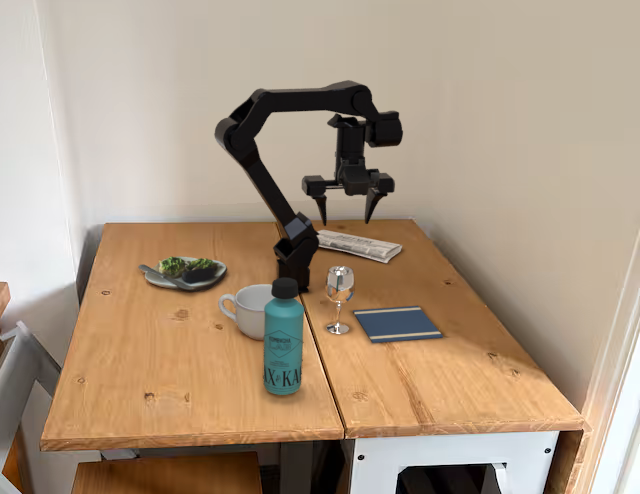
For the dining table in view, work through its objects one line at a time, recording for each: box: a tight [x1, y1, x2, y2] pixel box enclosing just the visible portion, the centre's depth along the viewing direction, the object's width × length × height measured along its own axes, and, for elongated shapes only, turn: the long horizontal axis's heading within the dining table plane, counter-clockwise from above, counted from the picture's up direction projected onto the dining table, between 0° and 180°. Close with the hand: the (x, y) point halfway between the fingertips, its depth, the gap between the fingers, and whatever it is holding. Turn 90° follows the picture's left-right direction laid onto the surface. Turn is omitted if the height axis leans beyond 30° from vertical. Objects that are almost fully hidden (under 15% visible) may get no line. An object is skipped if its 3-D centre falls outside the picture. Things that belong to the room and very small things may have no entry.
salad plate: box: [137, 255, 228, 293], centre depth 159 cm, size 19×18×5 cm
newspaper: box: [316, 229, 403, 264], centre depth 177 cm, size 23×12×2 cm, turn 58°
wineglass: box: [324, 265, 356, 335], centre depth 136 cm, size 6×6×12 cm
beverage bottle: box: [262, 278, 305, 396], centre depth 113 cm, size 6×7×20 cm
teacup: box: [217, 283, 275, 341], centre depth 136 cm, size 14×11×8 cm
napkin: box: [352, 305, 444, 344], centre depth 141 cm, size 14×14×1 cm
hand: (345, 224), depth 153 cm, fingers open, 9 cm apart
